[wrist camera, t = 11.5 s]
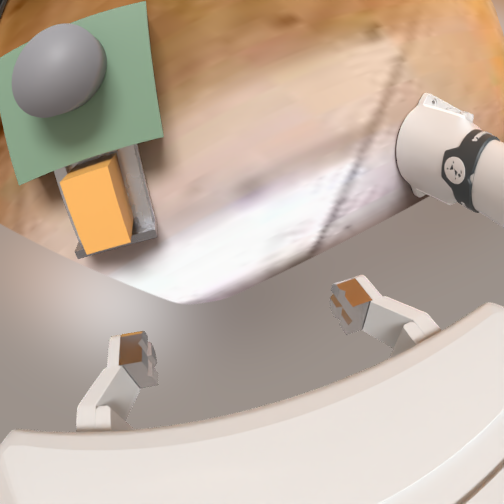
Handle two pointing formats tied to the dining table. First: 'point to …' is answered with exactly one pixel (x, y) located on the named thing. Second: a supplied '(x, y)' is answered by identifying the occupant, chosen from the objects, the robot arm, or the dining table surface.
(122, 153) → the open gray drawer
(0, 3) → the phone
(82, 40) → the green block with dome
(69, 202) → the orange block
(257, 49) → the dining table surface
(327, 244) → the dining table surface
